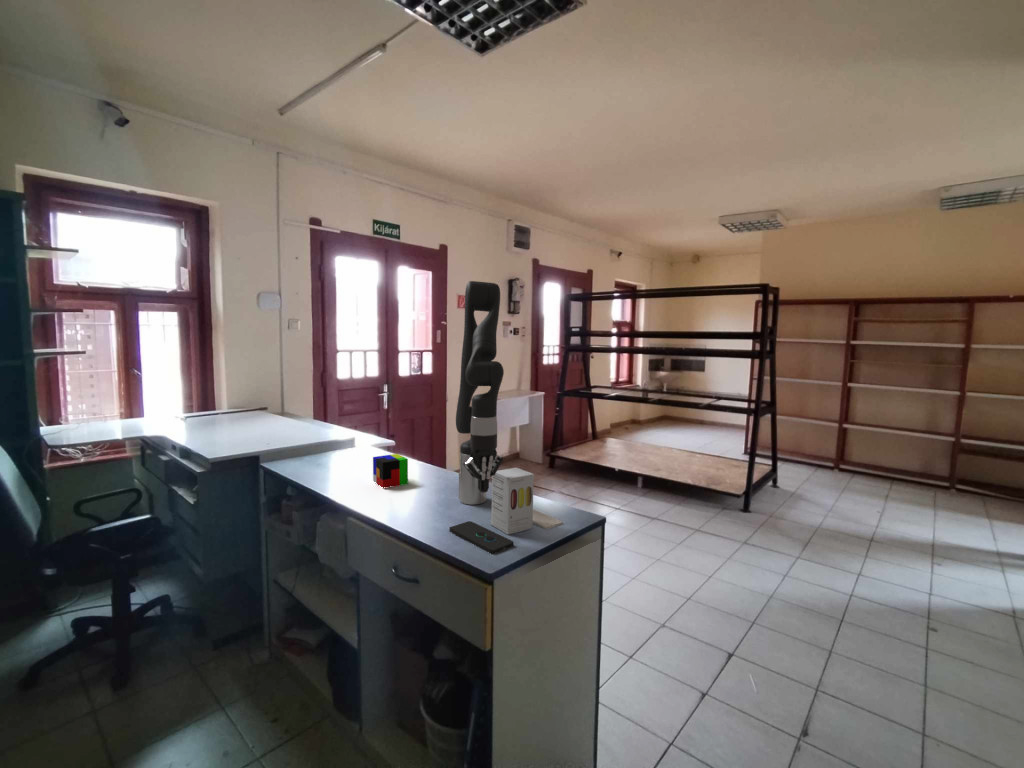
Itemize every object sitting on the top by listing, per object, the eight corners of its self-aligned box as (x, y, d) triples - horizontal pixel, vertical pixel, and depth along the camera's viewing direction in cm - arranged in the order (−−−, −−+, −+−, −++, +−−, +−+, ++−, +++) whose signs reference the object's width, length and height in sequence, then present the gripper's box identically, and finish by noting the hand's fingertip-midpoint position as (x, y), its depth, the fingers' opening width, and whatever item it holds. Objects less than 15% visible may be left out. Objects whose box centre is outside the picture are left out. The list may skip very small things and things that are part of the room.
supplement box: (507, 535, 136) (508, 478, 134) (490, 525, 143) (490, 471, 142) (533, 528, 141) (534, 473, 140) (515, 518, 149) (516, 466, 147)
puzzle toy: (373, 482, 184) (373, 457, 183) (397, 477, 190) (397, 453, 189) (382, 488, 176) (382, 462, 175) (407, 484, 182) (407, 458, 181)
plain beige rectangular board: (512, 513, 153) (512, 511, 153) (528, 509, 157) (528, 507, 157) (546, 529, 141) (546, 527, 141) (563, 523, 145) (563, 521, 145)
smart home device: (491, 550, 123) (447, 527, 138) (491, 556, 123) (447, 532, 138) (515, 541, 129) (470, 520, 144) (514, 547, 129) (470, 525, 144)
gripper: (494, 427, 140) (493, 484, 141) (456, 432, 131) (456, 492, 133) (510, 431, 134) (509, 490, 135) (472, 436, 125) (471, 499, 127)
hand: (483, 491), depth 134 cm, fingers closed
